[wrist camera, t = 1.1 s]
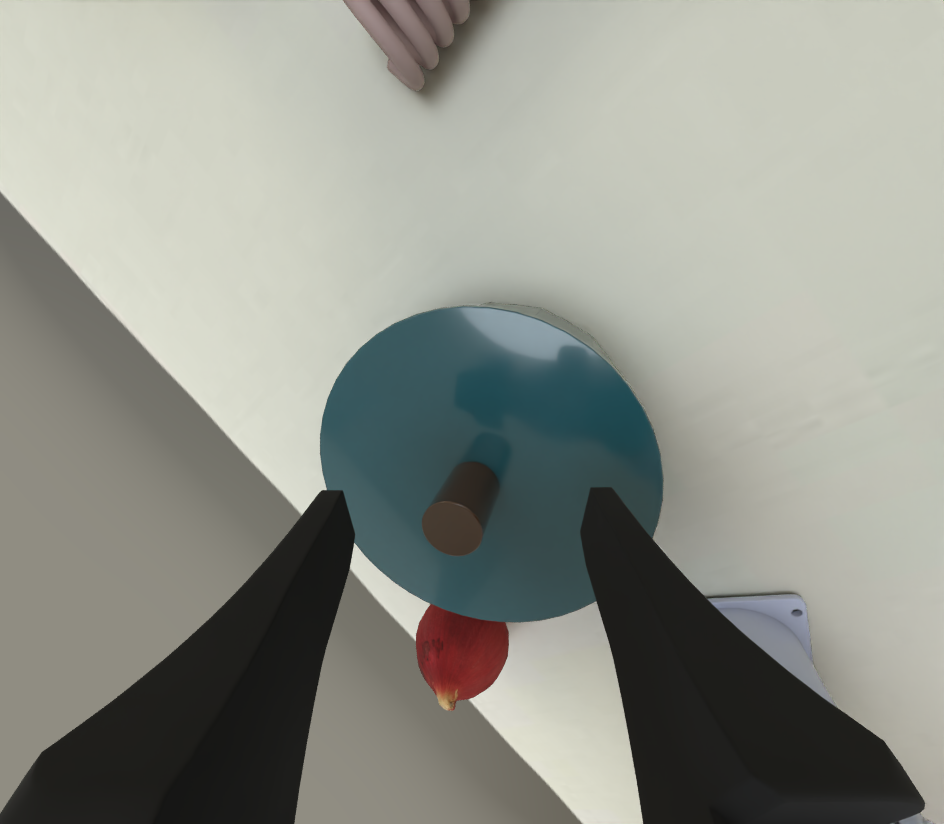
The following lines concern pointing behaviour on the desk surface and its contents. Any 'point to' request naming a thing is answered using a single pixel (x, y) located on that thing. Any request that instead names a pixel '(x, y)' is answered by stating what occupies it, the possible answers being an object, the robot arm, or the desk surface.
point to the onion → (459, 654)
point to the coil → (410, 32)
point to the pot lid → (485, 458)
